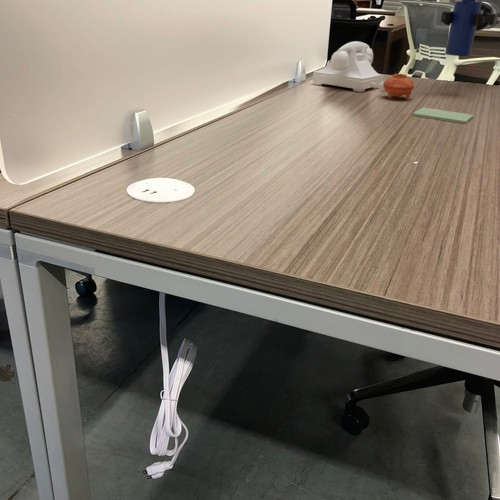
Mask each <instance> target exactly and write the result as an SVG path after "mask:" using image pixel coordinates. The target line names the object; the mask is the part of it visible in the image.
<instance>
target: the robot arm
mask: <svg viewBox="0 0 500 500" xmlns="http://www.w3.org/2000/svg"><path fill="white" fill-rule="evenodd" d="M476 2H482V3H481V8H480V12H479V14H474V18H473V22H472V26H476V31H475V32H477V33H480V32H481V31H482V30H490V29H492V28H494V27H496V26H497V25H498V24H500V0H476ZM452 15H453V10H452V11H445V10H444V11H442V12H441V17H440V22H441V23H443V25H445V26H450V25H451V20H452Z"/></svg>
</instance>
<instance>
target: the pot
mask: <svg viewBox="0 0 500 500" xmlns="http://www.w3.org/2000/svg"><path fill="white" fill-rule="evenodd" d="M383 82H384V84H383V83H382V84H383V86H384V88H385V89H384V90H385V91H386V92H387V96H388V99H389V100H392V97H401V96H405V97H406V100H409V99H410V97H411V94H412V91H413V89H414V88H415V84H414V82H413V80H412V79H410V77H408V75H407V74H404V73H394V74H392V76H390V77H389V78H387V79H386V80H385V81H383Z"/></svg>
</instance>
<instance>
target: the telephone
mask: <svg viewBox="0 0 500 500" xmlns="http://www.w3.org/2000/svg"><path fill="white" fill-rule="evenodd" d="M373 61H374V51H373V49H372V48H370V45H369V44H368V43H365V42H363V41H358V40H355V41H349V42H347V43H345V44H343V45H342V46H341V47H339V48H338V49H337V50H336V51H335V52H333V54H332V55H331V58H330V60H328V61H327V63H326V65H325V66H324V67H322V68H321V69H318V70H313V74H312V82H313V84H314V85H316V86H322V85H329V86H336V87H342V88H348V89H352V91H354V92H357V93H358V92H359V93H363V92H365V91H366V89H373V90H374V89H378V88H380V89H382V90H385V88H384V86H383V84H384V82H385V81H381V80H382V74H380V73H378V72H377V71H376V70H375V68H374V67H373V66H372V64H373Z"/></svg>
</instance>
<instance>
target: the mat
mask: <svg viewBox="0 0 500 500" xmlns="http://www.w3.org/2000/svg"><path fill="white" fill-rule="evenodd" d="M411 116H412V117H418V118H424V119H425V118H426V119H432V120H438V121H444V122H452V123H456V124H457V123H458V124H463V125H465V124H467V123H468V122H469V121H470V120H472V119H473V118H474V116H475V115H474V114H470V113H462V112H456V111H449V110H443V109H436V108H431V107H430V108H428V107H421V108H419V109H417V110H415V111H413V112H412V114H411Z"/></svg>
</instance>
